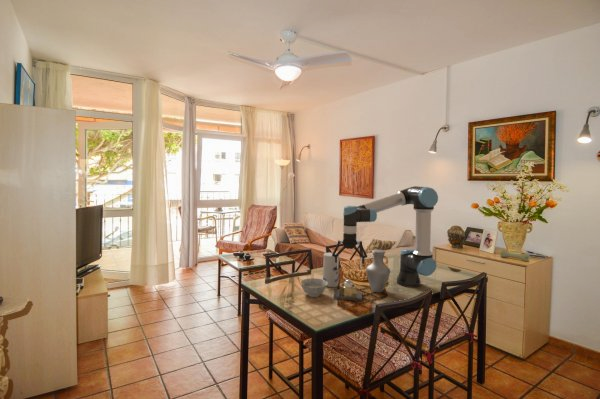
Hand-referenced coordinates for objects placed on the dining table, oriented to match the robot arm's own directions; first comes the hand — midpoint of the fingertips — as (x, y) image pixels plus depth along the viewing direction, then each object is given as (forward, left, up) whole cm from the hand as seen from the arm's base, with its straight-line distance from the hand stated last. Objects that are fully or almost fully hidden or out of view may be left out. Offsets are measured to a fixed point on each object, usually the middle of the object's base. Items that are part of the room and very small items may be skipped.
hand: (349, 268), depth 192 cm
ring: (0, 0, -15) cm, 15 cm away
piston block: (0, 0, -16) cm, 16 cm away
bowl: (+20, +2, -17) cm, 26 cm away
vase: (-18, -13, -17) cm, 27 cm away
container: (+11, -18, -17) cm, 27 cm away
